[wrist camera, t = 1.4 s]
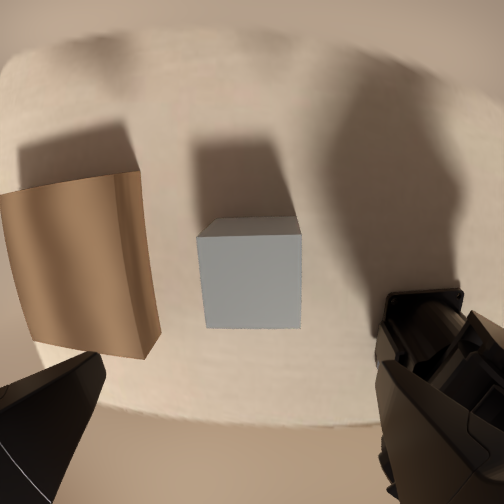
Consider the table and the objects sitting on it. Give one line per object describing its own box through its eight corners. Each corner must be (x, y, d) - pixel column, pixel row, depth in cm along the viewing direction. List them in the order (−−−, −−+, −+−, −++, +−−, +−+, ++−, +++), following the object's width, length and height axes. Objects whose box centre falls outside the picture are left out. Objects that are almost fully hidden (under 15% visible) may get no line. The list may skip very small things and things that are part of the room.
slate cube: (296, 215, 19) (301, 234, 14) (296, 290, 21) (300, 328, 16) (216, 218, 20) (196, 237, 15) (222, 290, 21) (206, 328, 16)
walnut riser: (142, 170, 20) (113, 174, 16) (163, 330, 23) (144, 359, 19) (31, 187, 21) (-2, 195, 17) (57, 319, 24) (32, 340, 20)
